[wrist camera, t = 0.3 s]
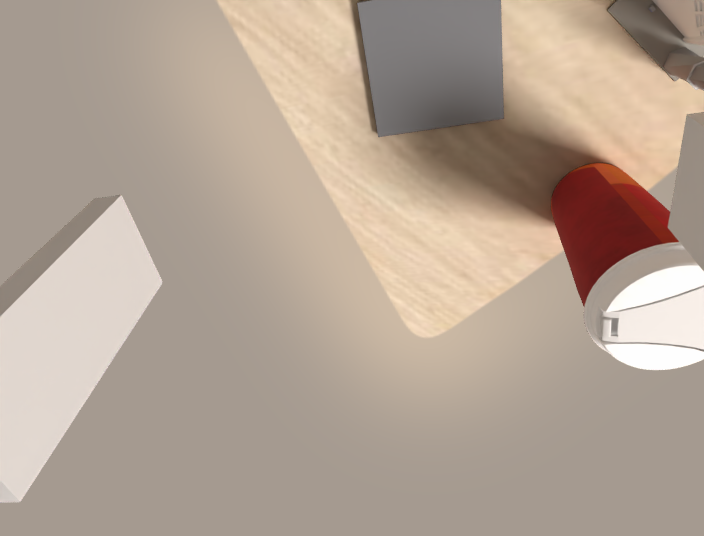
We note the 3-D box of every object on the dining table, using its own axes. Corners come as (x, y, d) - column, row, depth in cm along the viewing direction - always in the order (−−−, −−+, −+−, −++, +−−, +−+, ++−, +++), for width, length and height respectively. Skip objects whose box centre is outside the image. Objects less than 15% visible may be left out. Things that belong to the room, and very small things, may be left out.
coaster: (357, 2, 34) (357, 3, 34) (498, -25, 33) (500, -24, 32) (378, 134, 39) (378, 137, 39) (502, 116, 38) (503, 118, 37)
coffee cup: (537, 251, 43) (590, 383, 31) (532, 158, 39) (591, 269, 27) (646, 235, 42) (748, 369, 29) (654, 137, 38) (777, 244, 25)
